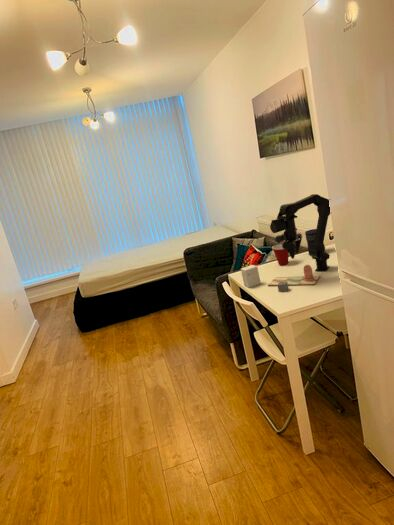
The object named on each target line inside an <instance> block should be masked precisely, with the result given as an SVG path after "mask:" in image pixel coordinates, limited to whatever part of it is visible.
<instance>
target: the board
mask: <svg viewBox="0 0 394 525" xmlns="http://www.w3.org/2000/svg"><path fill="white" fill-rule="evenodd" d="M313 277H314V280H313V281H305V279H304V278H305V276H304V275H302V276H301V275H299V276H278V277H277V276H276V277H273V279H272V280H271V281H270V282H269V283H268V284H267V287H278V284H279V283H280V282H288V287H296V286H297V287H298V286H299V287H300V286H303V287H304V286H315V285H317V283H318V281H319V280H320V278H321V275H313Z"/></svg>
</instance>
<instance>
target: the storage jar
mask: <svg viewBox="0 0 394 525" xmlns="http://www.w3.org/2000/svg"><path fill="white" fill-rule="evenodd" d="M316 229H317V228H313V229H309V230H306V231H305V232H304V233H305V239H306V244H307V251H308V250H309V245H310V244H312V243H313V242H314V239H315V234H316ZM307 253H308V255H309V256H310V254H309V251H308V252H307Z"/></svg>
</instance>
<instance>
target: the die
mask: <svg viewBox="0 0 394 525" xmlns="http://www.w3.org/2000/svg"><path fill="white" fill-rule="evenodd" d="M289 288H290V287H289V286H288V282H280V283H279V284H278V286H277V290H278V293H286V292H287V291H288V290H289Z"/></svg>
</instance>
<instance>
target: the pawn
mask: <svg viewBox="0 0 394 525" xmlns="http://www.w3.org/2000/svg"><path fill="white" fill-rule="evenodd" d="M303 276H305V278H304V279H305V281H313V280H314V277H313V276H314V274H313V268H312V266H311V265H309V264H306V265H304V266H303Z"/></svg>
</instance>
